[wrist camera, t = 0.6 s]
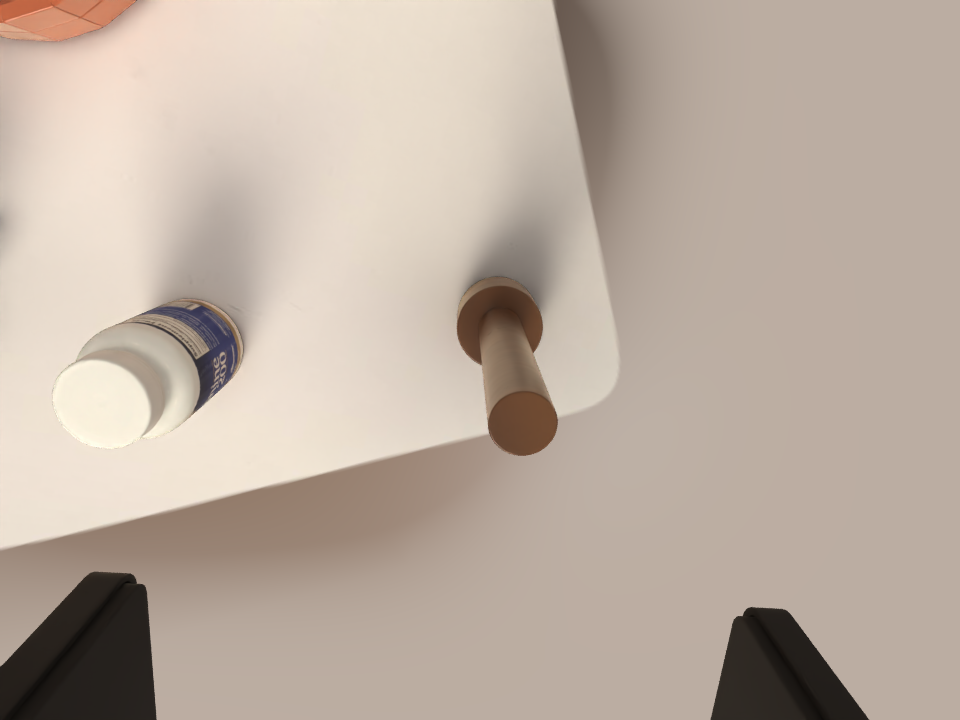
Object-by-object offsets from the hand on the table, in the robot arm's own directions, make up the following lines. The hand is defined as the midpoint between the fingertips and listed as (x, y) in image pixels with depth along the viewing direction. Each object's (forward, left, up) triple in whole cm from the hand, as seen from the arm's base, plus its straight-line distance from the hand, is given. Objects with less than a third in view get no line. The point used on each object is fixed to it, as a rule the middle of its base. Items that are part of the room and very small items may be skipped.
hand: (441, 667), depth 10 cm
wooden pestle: (-2, +1, -26) cm, 26 cm away
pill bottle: (+14, -2, -26) cm, 30 cm away
